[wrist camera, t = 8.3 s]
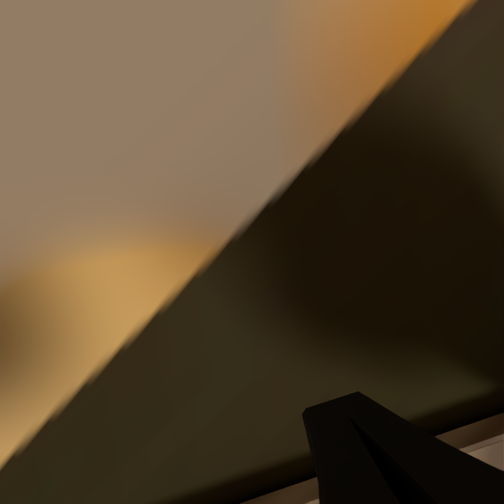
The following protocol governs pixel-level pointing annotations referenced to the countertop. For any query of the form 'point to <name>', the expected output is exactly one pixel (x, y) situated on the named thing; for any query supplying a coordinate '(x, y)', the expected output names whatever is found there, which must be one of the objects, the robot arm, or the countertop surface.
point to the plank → (464, 438)
